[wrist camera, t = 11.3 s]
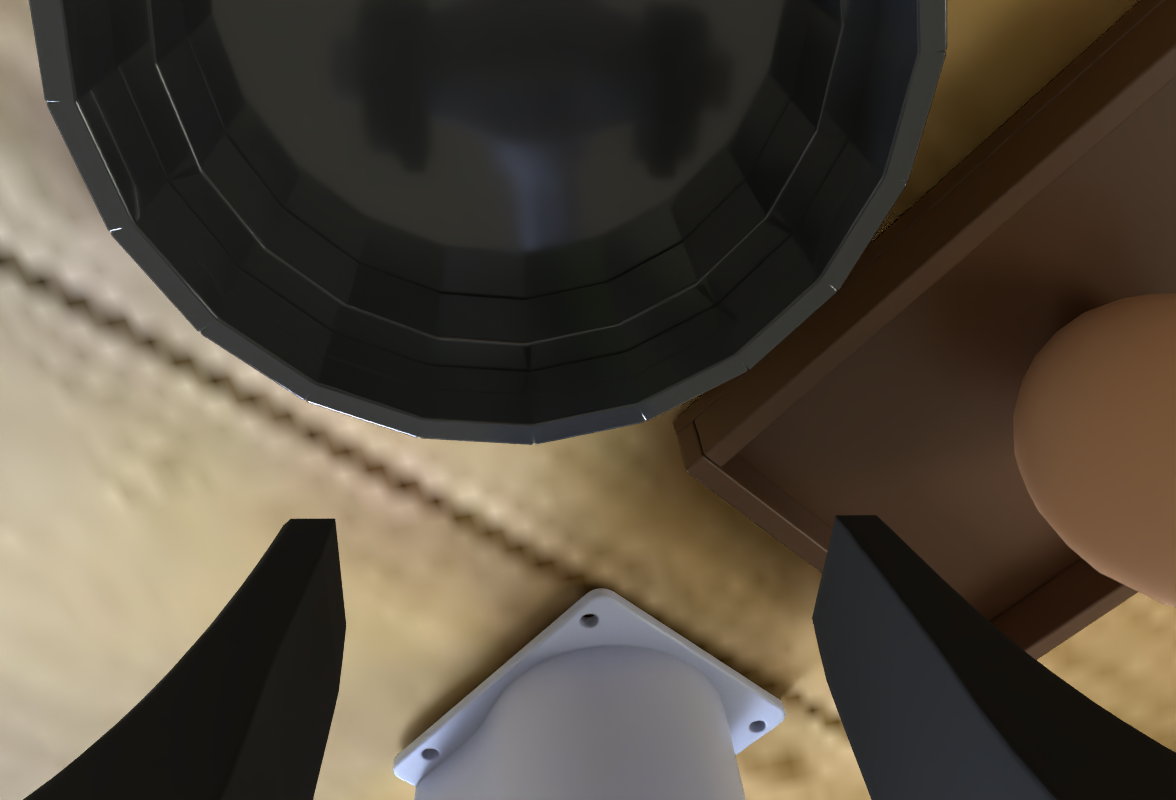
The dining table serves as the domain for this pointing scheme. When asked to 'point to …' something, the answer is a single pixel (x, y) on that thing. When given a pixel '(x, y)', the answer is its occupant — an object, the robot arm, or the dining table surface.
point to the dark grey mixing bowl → (494, 187)
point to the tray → (965, 344)
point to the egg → (1107, 440)
